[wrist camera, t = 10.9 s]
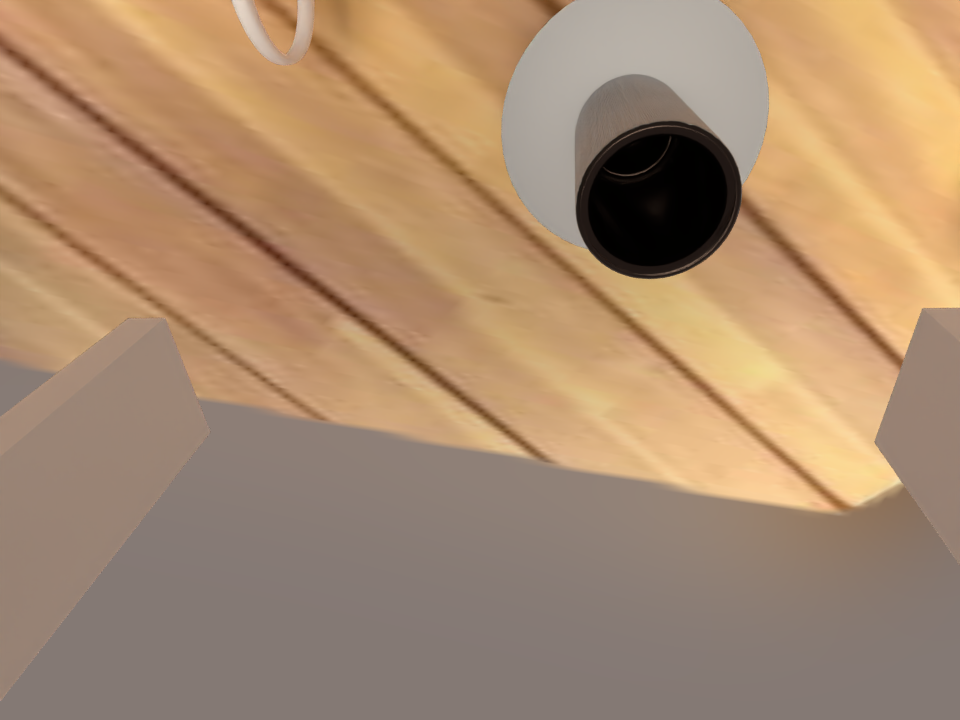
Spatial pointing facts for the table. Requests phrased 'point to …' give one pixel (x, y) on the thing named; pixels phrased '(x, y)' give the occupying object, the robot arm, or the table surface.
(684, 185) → the grey tube
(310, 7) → the white ceramic jug
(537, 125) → the stool
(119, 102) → the table surface
